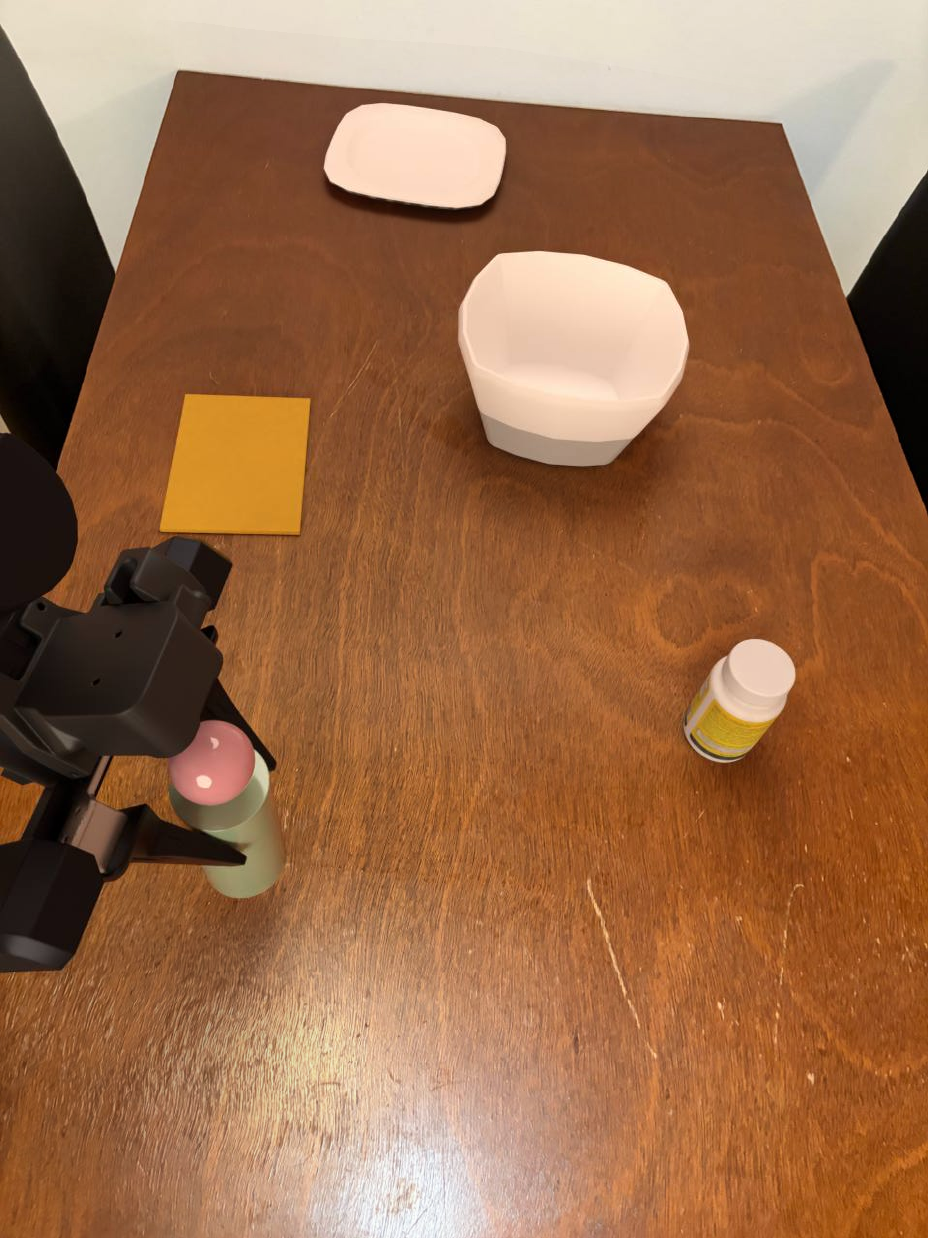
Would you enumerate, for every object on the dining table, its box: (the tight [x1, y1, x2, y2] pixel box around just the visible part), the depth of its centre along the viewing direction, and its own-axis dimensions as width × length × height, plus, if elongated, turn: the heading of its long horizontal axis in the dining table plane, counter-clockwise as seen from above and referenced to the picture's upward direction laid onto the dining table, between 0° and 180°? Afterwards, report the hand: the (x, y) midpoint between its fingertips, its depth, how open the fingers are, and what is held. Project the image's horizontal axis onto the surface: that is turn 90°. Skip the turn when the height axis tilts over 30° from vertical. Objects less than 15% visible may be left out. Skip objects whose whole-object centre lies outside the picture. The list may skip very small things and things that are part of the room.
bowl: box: [457, 250, 690, 467], centre depth 71 cm, size 18×18×9 cm
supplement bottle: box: [682, 638, 796, 764], centre depth 56 cm, size 5×5×8 cm
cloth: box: [159, 393, 312, 536], centre depth 68 cm, size 14×10×1 cm
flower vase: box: [167, 720, 287, 899], centre depth 42 cm, size 4×4×14 cm
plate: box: [323, 102, 507, 211], centre depth 93 cm, size 18×18×2 cm
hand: (256, 814), depth 42 cm, fingers closed on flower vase, 4 cm apart
